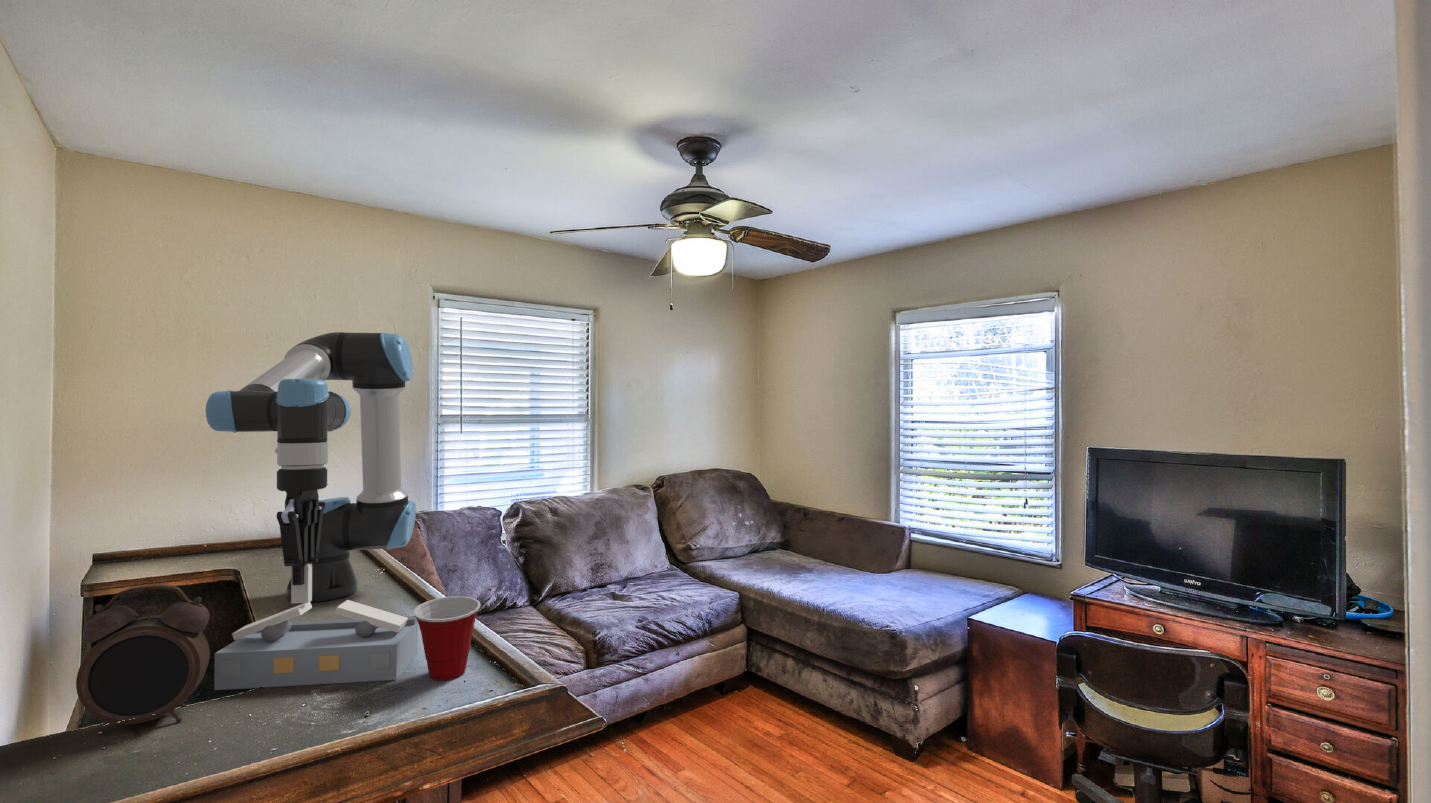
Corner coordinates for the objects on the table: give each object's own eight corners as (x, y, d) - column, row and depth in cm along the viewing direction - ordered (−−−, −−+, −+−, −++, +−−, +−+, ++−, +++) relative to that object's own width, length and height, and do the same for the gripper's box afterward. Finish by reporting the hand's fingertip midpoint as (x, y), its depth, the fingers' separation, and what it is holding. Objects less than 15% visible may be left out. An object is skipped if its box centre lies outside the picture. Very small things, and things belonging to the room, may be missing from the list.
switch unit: (254, 661, 119) (254, 623, 119) (417, 653, 123) (417, 616, 123) (213, 690, 107) (213, 647, 107) (395, 680, 111) (395, 638, 111)
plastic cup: (407, 691, 107) (407, 617, 107) (418, 665, 118) (419, 598, 118) (477, 683, 110) (477, 611, 110) (483, 659, 120) (483, 594, 120)
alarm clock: (69, 746, 89) (70, 599, 90) (90, 723, 96) (91, 586, 96) (201, 723, 96) (202, 586, 96) (213, 703, 102) (214, 575, 103)
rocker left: (254, 644, 116) (246, 625, 116) (317, 620, 117) (309, 601, 117) (239, 653, 111) (231, 633, 111) (305, 628, 113) (298, 608, 113)
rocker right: (339, 619, 118) (347, 599, 118) (400, 637, 119) (408, 617, 120) (329, 627, 114) (337, 607, 114) (392, 646, 115) (400, 625, 115)
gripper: (297, 464, 121) (296, 592, 121) (259, 470, 108) (258, 614, 108) (340, 463, 122) (340, 590, 122) (308, 469, 109) (307, 612, 109)
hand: (301, 601), depth 115 cm, fingers closed
